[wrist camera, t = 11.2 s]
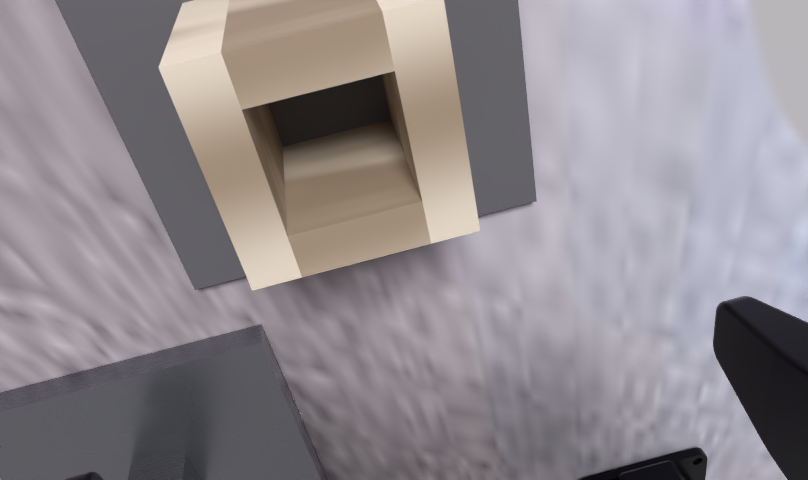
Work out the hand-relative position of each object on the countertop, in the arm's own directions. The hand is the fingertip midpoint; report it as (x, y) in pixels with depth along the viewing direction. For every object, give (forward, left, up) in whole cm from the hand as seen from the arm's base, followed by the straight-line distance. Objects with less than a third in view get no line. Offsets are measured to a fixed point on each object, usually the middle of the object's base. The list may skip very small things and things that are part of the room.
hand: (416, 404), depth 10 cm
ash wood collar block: (0, 0, -12) cm, 13 cm away
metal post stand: (-14, +10, -13) cm, 22 cm away
